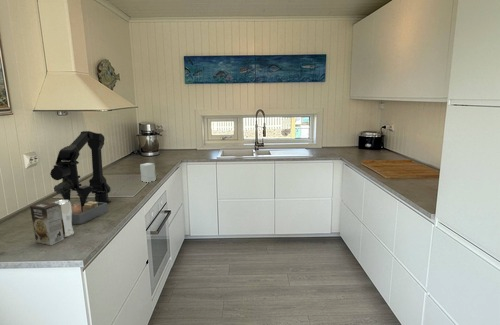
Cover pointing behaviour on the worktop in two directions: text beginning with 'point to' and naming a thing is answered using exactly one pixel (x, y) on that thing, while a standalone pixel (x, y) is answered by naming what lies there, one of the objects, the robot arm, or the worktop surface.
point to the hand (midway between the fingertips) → (75, 205)
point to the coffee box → (47, 223)
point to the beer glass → (66, 217)
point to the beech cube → (89, 206)
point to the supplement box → (147, 172)
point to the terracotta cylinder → (76, 208)
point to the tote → (89, 213)
